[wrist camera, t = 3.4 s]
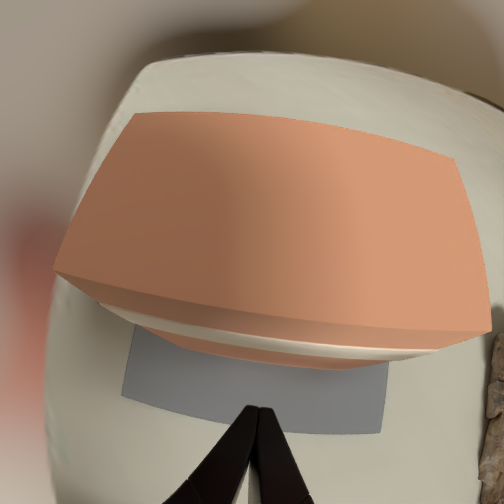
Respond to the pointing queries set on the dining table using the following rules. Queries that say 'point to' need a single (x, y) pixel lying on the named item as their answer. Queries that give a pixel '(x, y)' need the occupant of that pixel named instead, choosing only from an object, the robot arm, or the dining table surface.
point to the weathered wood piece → (494, 431)
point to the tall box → (280, 241)
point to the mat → (254, 388)
